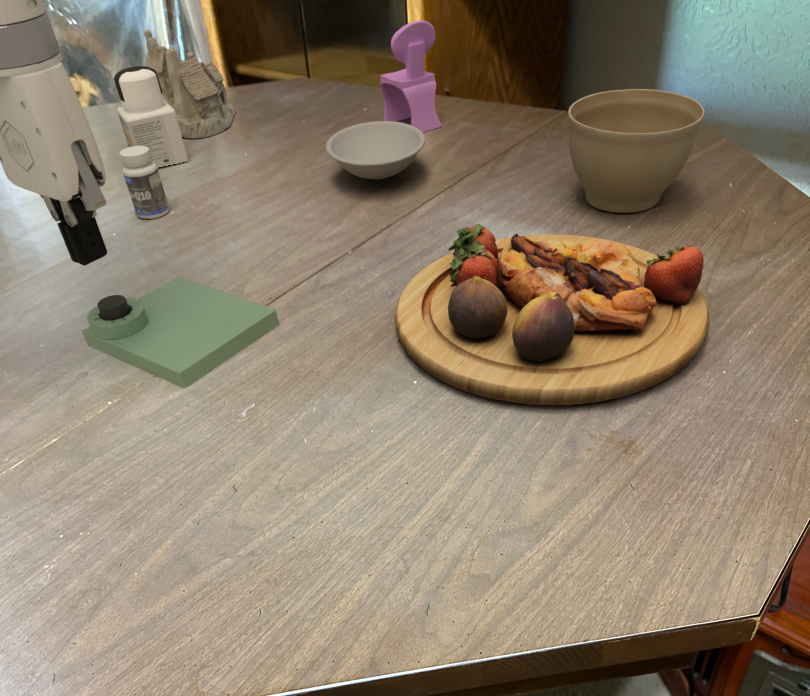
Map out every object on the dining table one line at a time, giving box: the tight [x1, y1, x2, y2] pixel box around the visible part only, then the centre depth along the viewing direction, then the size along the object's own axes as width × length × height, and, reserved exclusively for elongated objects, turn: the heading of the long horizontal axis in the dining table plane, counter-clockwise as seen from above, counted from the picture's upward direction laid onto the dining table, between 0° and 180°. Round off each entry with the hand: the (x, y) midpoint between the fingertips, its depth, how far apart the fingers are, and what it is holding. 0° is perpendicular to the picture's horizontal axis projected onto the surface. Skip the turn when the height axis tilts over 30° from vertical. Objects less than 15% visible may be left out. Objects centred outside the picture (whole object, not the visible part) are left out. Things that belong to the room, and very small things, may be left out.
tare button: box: [96, 294, 131, 321], centre depth 77 cm, size 3×3×2 cm
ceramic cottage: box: [143, 29, 237, 140], centre depth 127 cm, size 16×16×15 cm
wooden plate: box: [394, 223, 710, 406], centre depth 73 cm, size 32×32×8 cm
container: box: [113, 65, 189, 168], centre depth 114 cm, size 8×8×13 cm
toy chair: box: [379, 19, 442, 133], centre depth 117 cm, size 8×9×15 cm
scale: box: [81, 276, 280, 389], centre depth 78 cm, size 16×14×4 cm
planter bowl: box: [567, 88, 705, 214], centre depth 92 cm, size 16×16×11 cm
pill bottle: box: [119, 146, 170, 220], centre depth 101 cm, size 5×5×8 cm
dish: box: [325, 120, 426, 180], centre depth 105 cm, size 18×14×5 cm
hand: (90, 258), depth 73 cm, fingers closed
